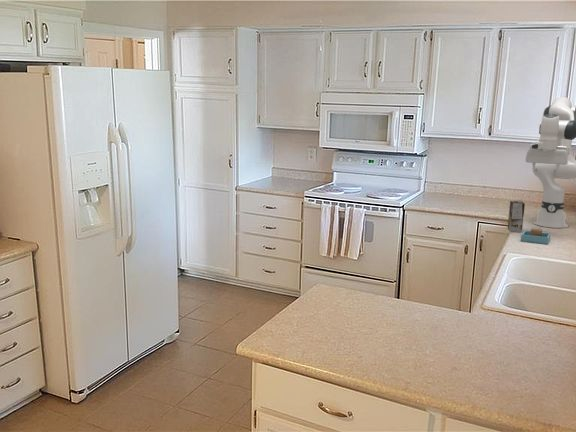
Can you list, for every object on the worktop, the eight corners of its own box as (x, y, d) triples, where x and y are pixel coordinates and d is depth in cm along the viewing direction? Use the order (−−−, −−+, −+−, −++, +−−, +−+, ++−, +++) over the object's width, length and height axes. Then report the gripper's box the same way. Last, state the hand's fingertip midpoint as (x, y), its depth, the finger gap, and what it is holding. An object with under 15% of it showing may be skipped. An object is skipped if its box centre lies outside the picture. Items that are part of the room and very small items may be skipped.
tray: (523, 237, 300) (524, 230, 299) (549, 240, 294) (550, 233, 293) (520, 241, 289) (521, 234, 289) (547, 244, 283) (548, 237, 283)
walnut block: (530, 237, 295) (531, 228, 294) (541, 238, 292) (542, 229, 292) (529, 239, 291) (530, 229, 290) (540, 240, 288) (541, 231, 287)
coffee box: (522, 232, 312) (525, 203, 309) (509, 231, 313) (512, 202, 310) (519, 229, 321) (521, 201, 318) (507, 228, 322) (509, 200, 319)
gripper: (570, 146, 293) (567, 172, 296) (527, 144, 303) (525, 170, 306) (569, 147, 288) (566, 174, 291) (526, 145, 298) (524, 171, 300)
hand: (545, 172), depth 298 cm, fingers open, 8 cm apart
